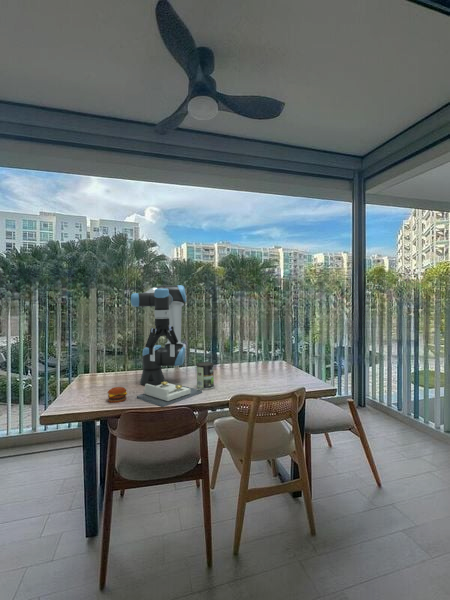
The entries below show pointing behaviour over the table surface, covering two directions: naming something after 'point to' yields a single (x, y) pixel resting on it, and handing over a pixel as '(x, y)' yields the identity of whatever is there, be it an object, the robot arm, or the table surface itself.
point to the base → (165, 403)
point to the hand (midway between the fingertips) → (162, 358)
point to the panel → (165, 391)
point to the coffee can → (205, 375)
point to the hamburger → (117, 394)
